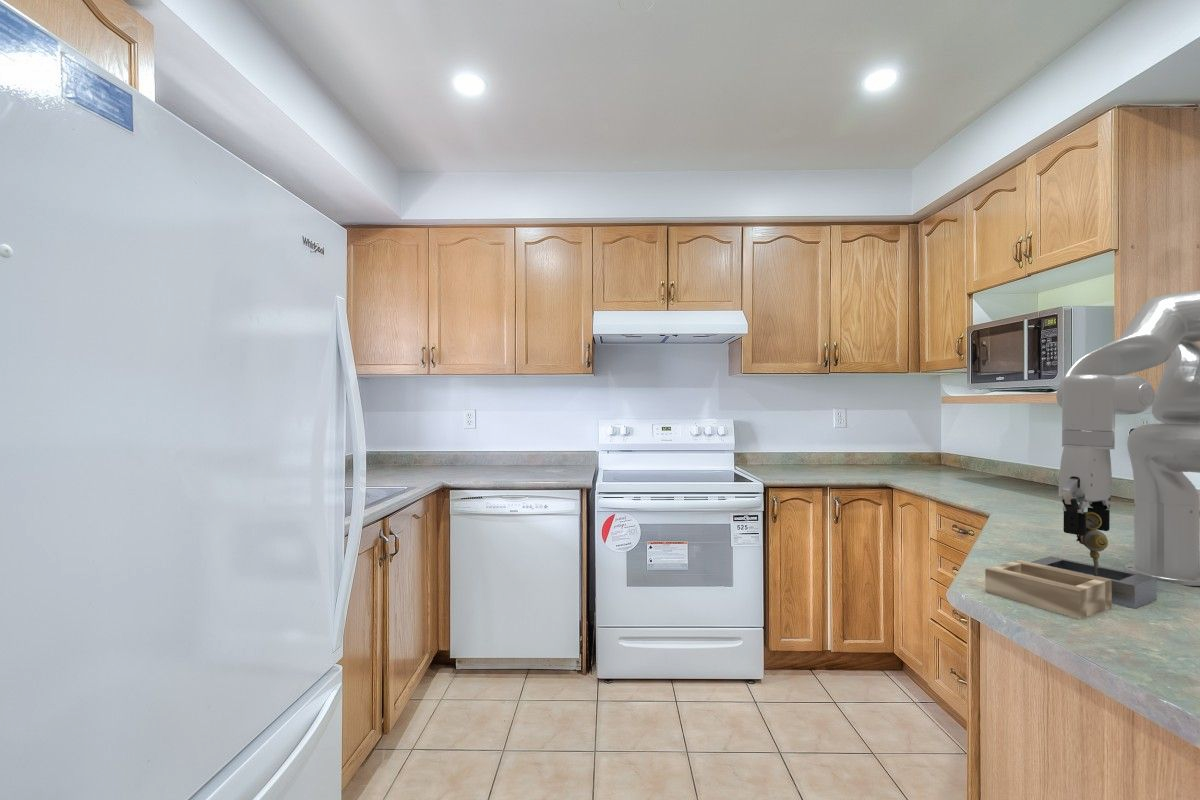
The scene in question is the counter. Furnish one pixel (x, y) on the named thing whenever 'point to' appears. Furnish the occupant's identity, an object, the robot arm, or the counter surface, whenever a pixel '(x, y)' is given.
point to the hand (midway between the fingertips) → (1086, 531)
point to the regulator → (1093, 537)
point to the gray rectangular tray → (1113, 581)
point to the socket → (1050, 588)
